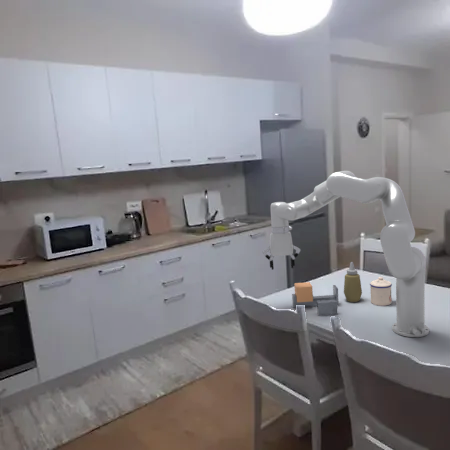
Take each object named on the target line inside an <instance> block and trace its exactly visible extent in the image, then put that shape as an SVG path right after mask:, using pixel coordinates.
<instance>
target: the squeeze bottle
mask: <svg viewBox="0 0 450 450" xmlns="http://www.w3.org/2000/svg"><path fill="white" fill-rule="evenodd" d="M343 283H344V284H343V294H344V297H345V299H346V301H348V302H349V303H350V302H351V303H357V302H360V301H361V297H362V296H363V295H362V294H363V290H362V283H361V275H360V274H359V273H358V269H356V268H355V264H354V262H353V261H351V262H349V267H348V269H346V274H345V275H344V282H343Z"/></svg>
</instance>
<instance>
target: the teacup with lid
mask: <svg viewBox="0 0 450 450" xmlns="http://www.w3.org/2000/svg"><path fill="white" fill-rule="evenodd" d="M369 286H370V303H371V304H372V305H375V306H381V307H382V306H383V307H385V306H389V305H391V304H392V300H393V299H392V286H393V284H392V282H391V281H390V280H386V279H384V277H383V276H378V278H377V279H374V280H372V281H371V282H370V283H369Z"/></svg>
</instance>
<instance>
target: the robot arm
mask: <svg viewBox="0 0 450 450" xmlns="http://www.w3.org/2000/svg"><path fill="white" fill-rule="evenodd" d="M339 198H343V199H346V200H351V201H354V202H358V203H362V204H371V203H374V202H377V201H380V202H381V208H382V213H383V218H384V219H385V226H383V227H382V229H381V231H380V234H379V239H380V245H381V248H382V252H383V255H384V259H385V263H386V266H387V269H388V271H389V273H390V274H391V276H392V277H394V278H395V279H396V281H395V282H396V283H395V284H396V286H395V291H396V292H395V295H396V296H395V297H396V298H395V300H396V306H395V307H396V310H395V311H396V322H395V323H393V324H392V326H391V327H392V331H393V332H394V333H396V334H397V335H400V336H404V337H408V338H422V337H426V336H427V335H429V334H430V327H428V326H427V325H426V324H425V323H426V322H425V321H426V320H425V318H426V317H425V309H426V307H425V285H426V283H425V282H426V281H425V280H426V279H425V278H426V277H425V276H426V266H427V260H426V256H425V254H424V252H423V251H422V250H421V249H419V248H417V247H415V246H412V245H411V242H412V241H413V240H414V238H415V237H416V230H415V227H414V224H413V220H412V217H411V214H410V211H409V208H408V204H407V201H406V198H405V195H404V191H403V190H402V188H401V187H400V185H399V184H398V183H397V182H396V181H394V180H392V179H390V178H387V177H383V176H375V177H370V178H366V179H365V178H360V177H357V176H356V175H355V173H353V172H352V171H351V170H341V171H336V172H333V173H331V174H330V175H329V176H328V177H327V179H326V180H324V181H323V182H321V183H320V184H317V185H315V187H314V188H313V192H311V193H310V194H308V195H306V196H305V197H303V198H302V199H300V200H295V201H291V202H285V201H276V202H272V203H271V204H270V219H271V220H270V223H271V232H270V234H269V246H268V247H266V248H265V249H263V251H262V254H263V256H264V257H265V258H266V259H267V260H268V261H269V267H270V268H271V270H274V258H275V257H279V256H280V257H281V256H283V257H284V256H290V268H291V269H294V267H295V266H296V264H295V260H296V258H297V257H298V255H300V252H301V251H302V250H301V248H299V247H297V246H295V245H294V244H293V237H292V233H291V231H292V230H293V226H290V224H289V221H297V220H298V219H302V218H305V217H307V216H309V215H310V214H312V213H314V212H316V211H318V210H320V209H321V208H323V207H325V206H327V205H328V204H330V203H332V202H333V201H335V200H337V199H339ZM294 250H295V252H294ZM268 252H269V253H270V255H268Z"/></svg>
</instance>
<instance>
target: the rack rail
mask: <svg viewBox="0 0 450 450" xmlns="http://www.w3.org/2000/svg"><path fill="white" fill-rule="evenodd" d="M332 291H333V292H332V294H329V295H328V294H326V295H313V301H310V302H297V296H296V294H295V293H291V299H292V300H291V301H292V308H293V309H294V308H295V307H296V305H305V307H304V308H311V307H312V308H313V307H317V301H321V300H336V301H337V307H338V306H340V303H339V288H338V286H337V285H335V284H332ZM295 309H296V308H295Z"/></svg>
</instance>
